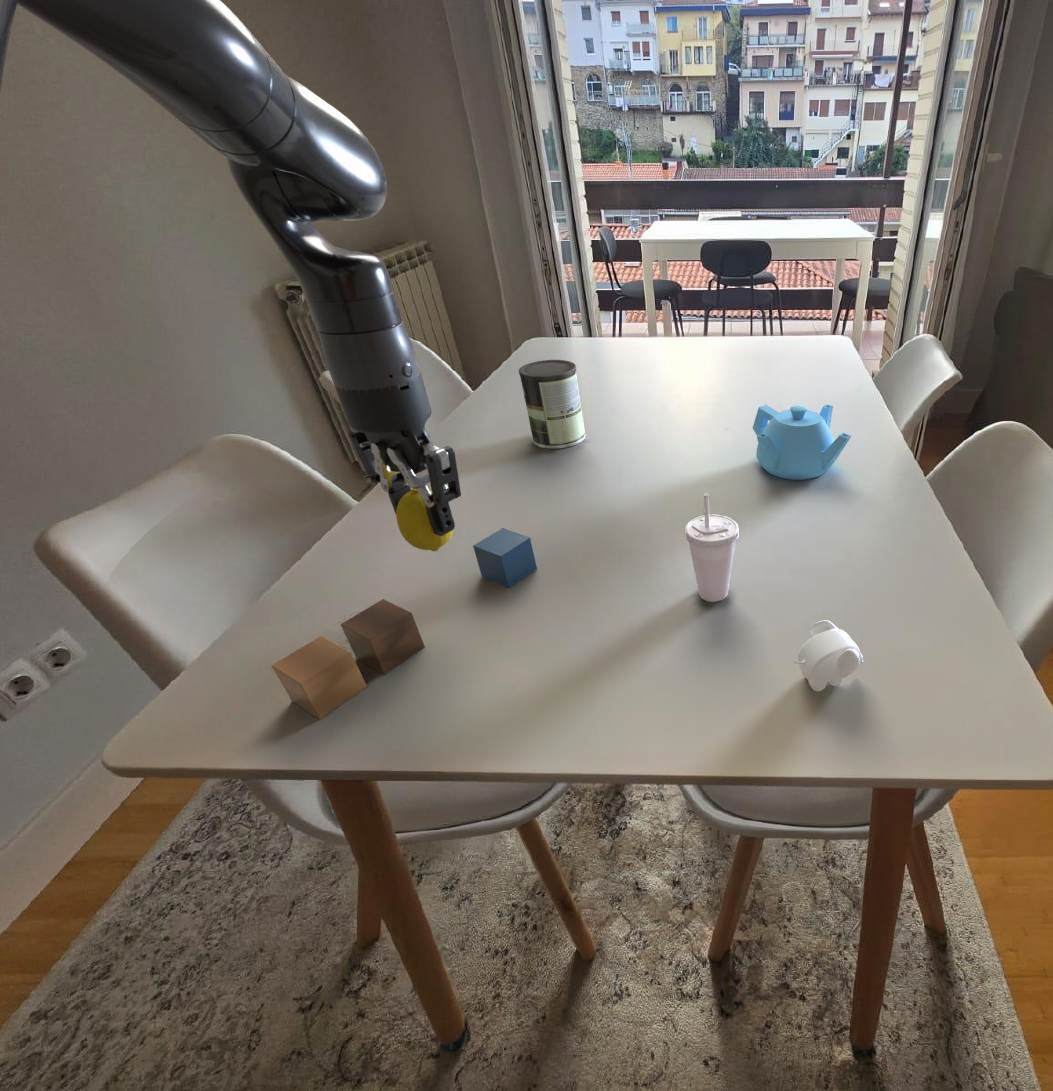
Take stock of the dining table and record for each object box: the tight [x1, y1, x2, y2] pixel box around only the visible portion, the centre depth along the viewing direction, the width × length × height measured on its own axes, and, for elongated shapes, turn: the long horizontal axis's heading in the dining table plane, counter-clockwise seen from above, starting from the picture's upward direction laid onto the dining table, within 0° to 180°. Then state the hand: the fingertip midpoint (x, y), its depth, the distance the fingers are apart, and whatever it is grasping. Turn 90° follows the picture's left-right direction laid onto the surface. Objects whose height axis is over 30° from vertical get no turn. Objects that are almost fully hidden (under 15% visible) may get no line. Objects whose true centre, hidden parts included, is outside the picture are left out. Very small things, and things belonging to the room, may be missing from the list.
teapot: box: [752, 404, 852, 481], centre depth 104 cm, size 15×15×11 cm
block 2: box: [340, 598, 426, 675], centre depth 65 cm, size 5×5×5 cm
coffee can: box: [518, 359, 587, 450], centre depth 114 cm, size 10×10×14 cm
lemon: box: [395, 488, 455, 552], centre depth 66 cm, size 6×6×8 cm
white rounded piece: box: [793, 619, 865, 692], centre depth 61 cm, size 7×8×6 cm
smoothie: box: [684, 493, 740, 603], centre depth 72 cm, size 6×6×14 cm
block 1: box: [270, 635, 368, 720], centre depth 60 cm, size 5×5×5 cm
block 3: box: [472, 527, 538, 589], centre depth 78 cm, size 5×5×5 cm
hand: (426, 524), depth 66 cm, fingers closed on lemon, 5 cm apart
